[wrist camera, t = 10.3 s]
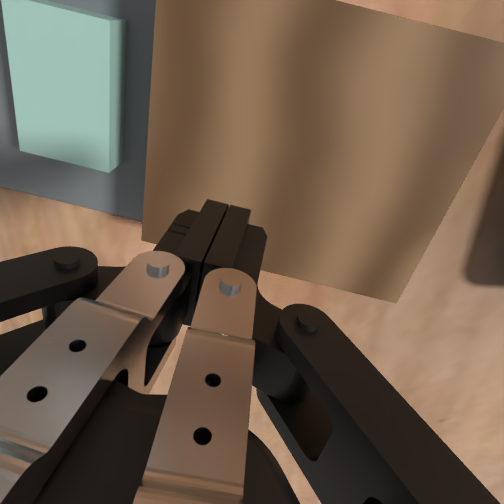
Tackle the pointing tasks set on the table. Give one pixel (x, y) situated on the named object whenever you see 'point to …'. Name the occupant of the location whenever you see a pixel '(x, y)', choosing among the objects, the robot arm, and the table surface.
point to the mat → (134, 134)
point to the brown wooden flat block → (317, 130)
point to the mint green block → (67, 81)
